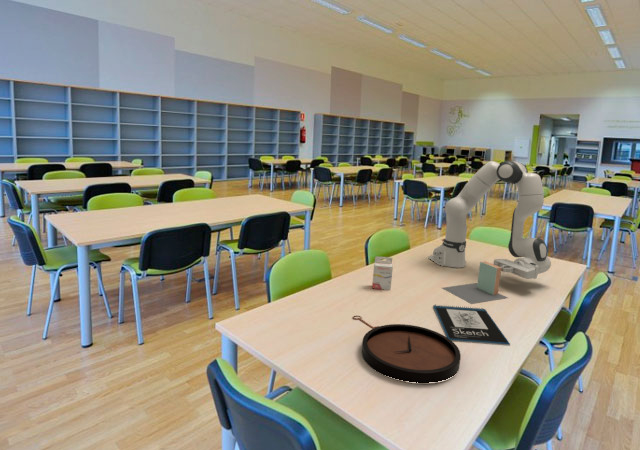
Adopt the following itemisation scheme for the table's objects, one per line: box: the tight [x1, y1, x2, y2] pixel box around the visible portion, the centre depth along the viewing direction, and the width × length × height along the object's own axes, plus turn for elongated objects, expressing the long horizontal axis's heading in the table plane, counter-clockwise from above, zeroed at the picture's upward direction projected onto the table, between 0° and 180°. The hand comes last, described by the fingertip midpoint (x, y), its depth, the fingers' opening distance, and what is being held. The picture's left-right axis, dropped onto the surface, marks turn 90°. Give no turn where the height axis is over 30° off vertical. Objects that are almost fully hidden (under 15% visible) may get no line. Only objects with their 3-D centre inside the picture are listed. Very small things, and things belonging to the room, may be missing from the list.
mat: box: [441, 282, 509, 305], centre depth 193 cm, size 20×22×1 cm
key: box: [352, 315, 380, 330], centre depth 158 cm, size 6×1×15 cm
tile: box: [476, 260, 502, 295], centre depth 195 cm, size 10×3×13 cm, turn 24°
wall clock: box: [361, 323, 462, 383], centre depth 136 cm, size 31×4×31 cm
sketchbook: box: [432, 304, 511, 346], centre depth 161 cm, size 22×30×2 cm
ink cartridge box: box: [371, 255, 394, 291], centre depth 194 cm, size 9×5×15 cm, turn 84°
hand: (501, 269), depth 197 cm, fingers closed
